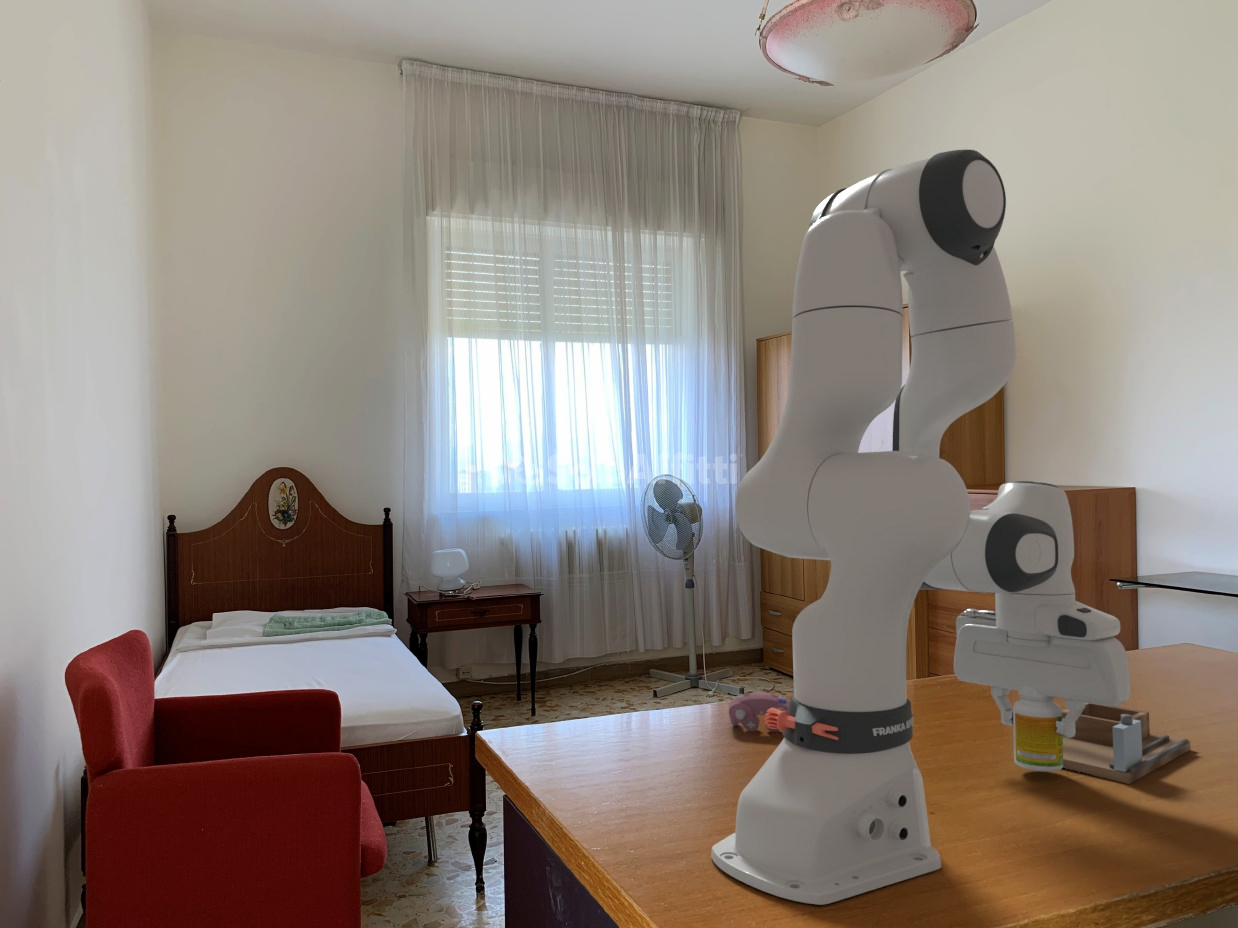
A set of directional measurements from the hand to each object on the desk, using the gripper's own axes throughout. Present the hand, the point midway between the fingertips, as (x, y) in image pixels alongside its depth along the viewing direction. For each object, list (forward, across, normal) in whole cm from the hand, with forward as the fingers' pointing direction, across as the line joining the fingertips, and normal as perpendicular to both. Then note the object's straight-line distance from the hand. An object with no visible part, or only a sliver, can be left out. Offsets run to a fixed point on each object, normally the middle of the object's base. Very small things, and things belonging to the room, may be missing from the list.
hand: (1037, 729), depth 107 cm
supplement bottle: (+4, 0, 0) cm, 4 cm away
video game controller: (+6, -36, -10) cm, 38 cm away
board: (+5, +2, +14) cm, 15 cm away
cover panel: (+4, +7, +7) cm, 11 cm away
